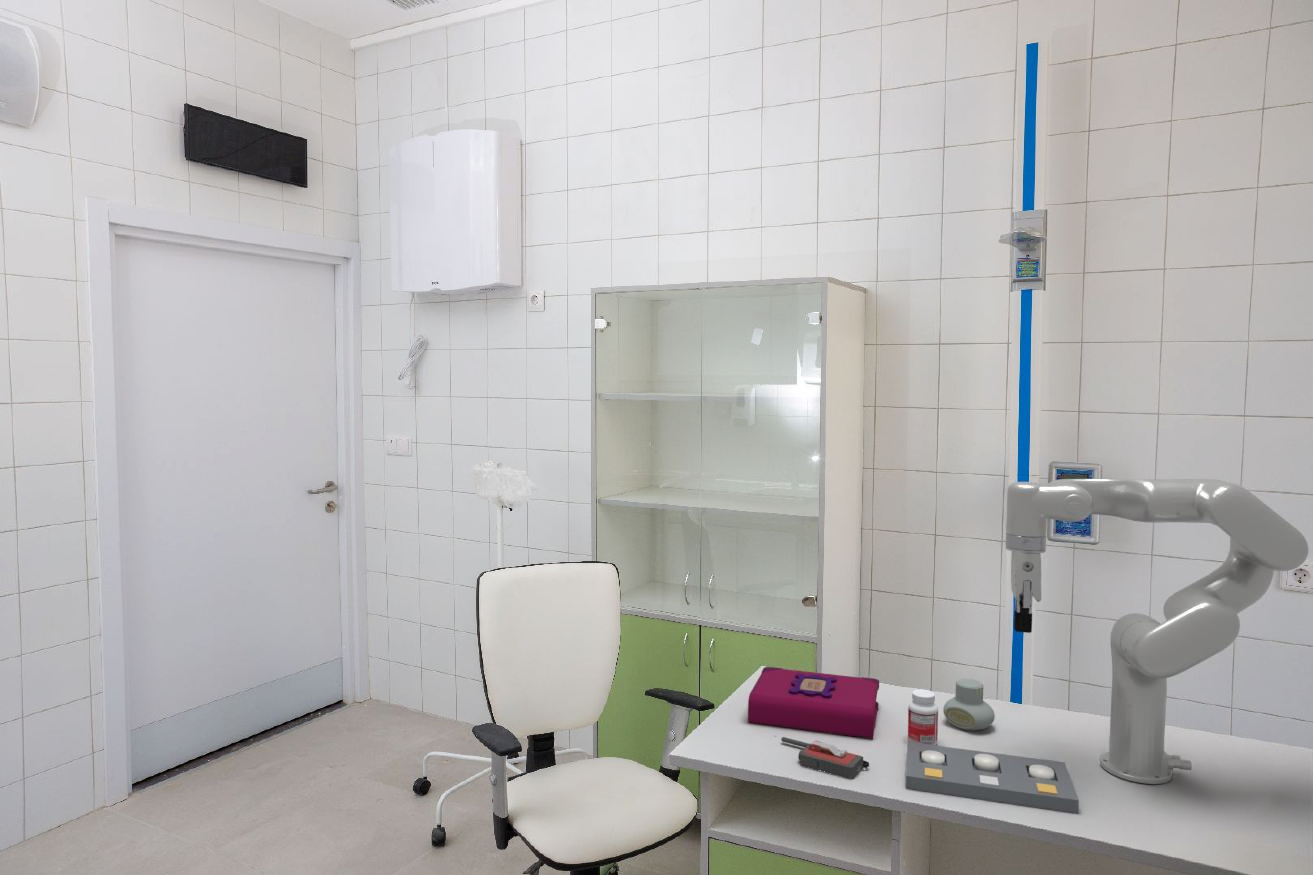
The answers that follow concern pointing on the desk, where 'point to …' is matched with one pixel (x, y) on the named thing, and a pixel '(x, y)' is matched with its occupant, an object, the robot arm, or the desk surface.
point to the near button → (1041, 772)
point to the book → (815, 702)
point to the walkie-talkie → (829, 758)
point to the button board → (991, 778)
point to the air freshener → (969, 706)
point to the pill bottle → (923, 718)
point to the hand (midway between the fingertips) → (1022, 630)
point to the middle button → (986, 762)
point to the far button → (933, 757)
